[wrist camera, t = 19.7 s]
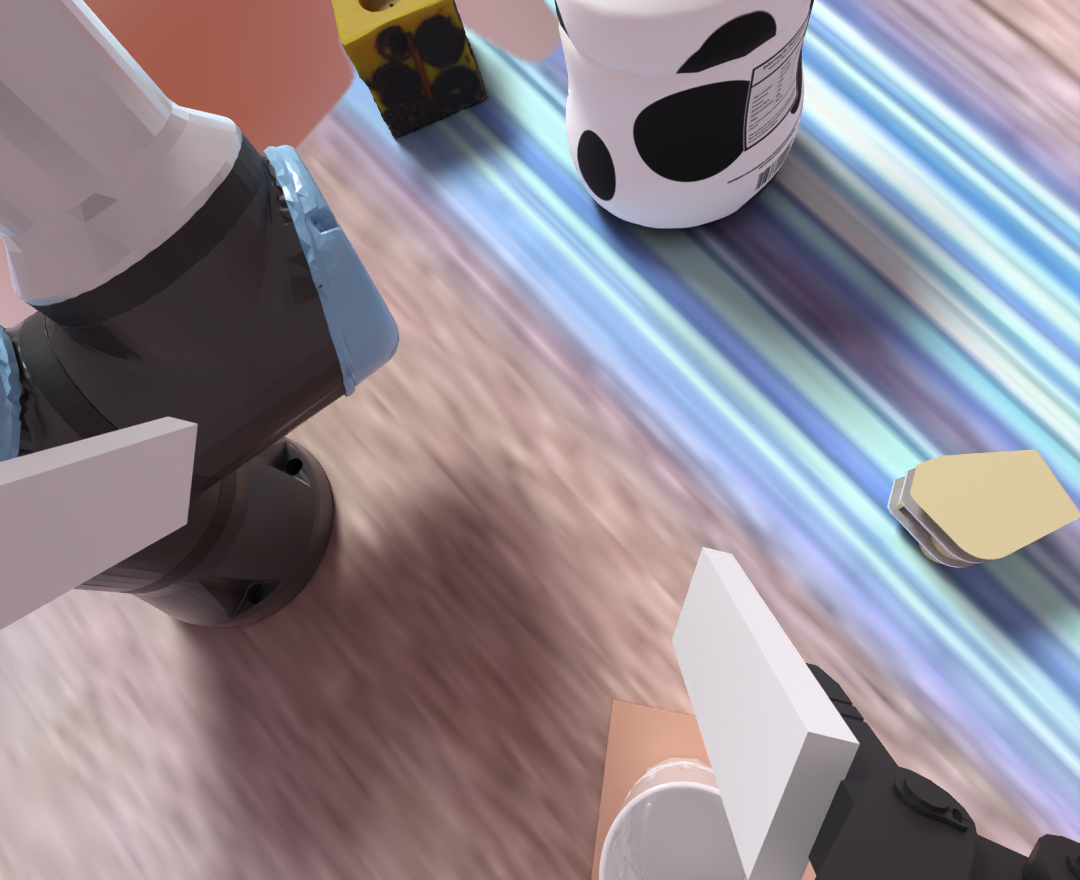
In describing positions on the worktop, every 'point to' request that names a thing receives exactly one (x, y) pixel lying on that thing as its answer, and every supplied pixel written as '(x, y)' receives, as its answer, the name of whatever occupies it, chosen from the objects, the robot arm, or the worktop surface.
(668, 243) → the worktop surface
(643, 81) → the milk container
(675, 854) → the white cup
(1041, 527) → the stacked layers on plate
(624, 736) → the coaster
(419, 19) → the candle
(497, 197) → the worktop surface
